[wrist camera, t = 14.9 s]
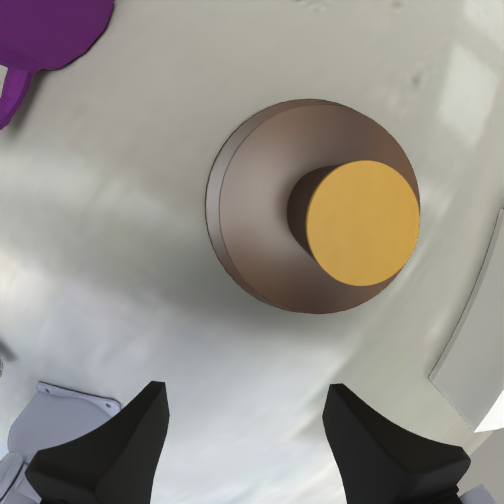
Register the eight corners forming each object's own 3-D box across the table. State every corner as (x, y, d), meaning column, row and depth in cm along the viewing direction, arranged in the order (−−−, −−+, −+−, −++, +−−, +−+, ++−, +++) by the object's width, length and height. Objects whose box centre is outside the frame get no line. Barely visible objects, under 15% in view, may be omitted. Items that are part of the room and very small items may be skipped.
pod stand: (205, 303, 21) (198, 326, 17) (212, 96, 18) (207, 78, 14) (391, 305, 21) (413, 324, 18) (408, 121, 18) (435, 113, 15)
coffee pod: (298, 267, 17) (321, 301, 12) (276, 178, 15) (292, 175, 11) (379, 244, 16) (425, 266, 12) (361, 158, 15) (407, 151, 10)
